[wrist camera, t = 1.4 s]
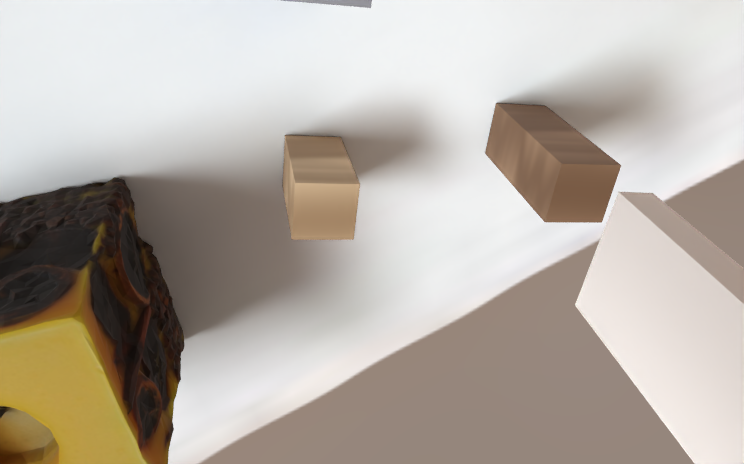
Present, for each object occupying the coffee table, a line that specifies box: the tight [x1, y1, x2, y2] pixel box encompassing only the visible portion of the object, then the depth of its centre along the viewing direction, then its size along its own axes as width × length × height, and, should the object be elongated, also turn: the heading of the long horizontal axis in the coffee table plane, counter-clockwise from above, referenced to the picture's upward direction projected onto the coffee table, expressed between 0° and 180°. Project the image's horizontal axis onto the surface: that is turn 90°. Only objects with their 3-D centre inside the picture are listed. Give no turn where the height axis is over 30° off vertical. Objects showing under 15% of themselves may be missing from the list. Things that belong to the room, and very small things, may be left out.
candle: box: [0, 178, 184, 464], centre depth 26 cm, size 10×10×10 cm
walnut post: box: [485, 103, 621, 222], centre depth 28 cm, size 3×3×7 cm
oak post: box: [283, 135, 360, 240], centre depth 28 cm, size 3×3×5 cm
